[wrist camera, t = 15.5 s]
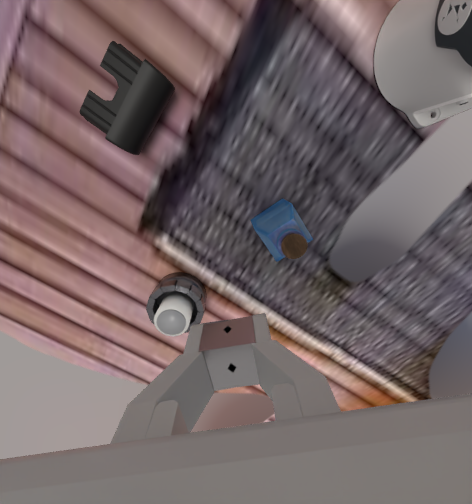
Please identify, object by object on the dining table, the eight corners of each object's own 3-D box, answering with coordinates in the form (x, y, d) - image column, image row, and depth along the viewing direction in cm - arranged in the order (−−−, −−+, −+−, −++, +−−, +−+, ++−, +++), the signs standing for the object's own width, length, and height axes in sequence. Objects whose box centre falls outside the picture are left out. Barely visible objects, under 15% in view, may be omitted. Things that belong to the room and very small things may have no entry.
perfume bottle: (250, 219, 39) (258, 240, 28) (282, 198, 38) (304, 210, 27) (270, 248, 41) (285, 279, 30) (301, 228, 40) (329, 252, 29)
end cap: (146, 157, 36) (127, 154, 29) (102, 126, 34) (73, 116, 28) (180, 95, 33) (168, 77, 27) (135, 58, 32) (111, 31, 25)
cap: (189, 287, 40) (183, 304, 35) (197, 314, 42) (192, 334, 37) (158, 293, 40) (148, 310, 35) (167, 319, 42) (159, 339, 37)
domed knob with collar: (199, 268, 42) (195, 281, 37) (210, 311, 45) (208, 328, 40) (149, 277, 42) (139, 291, 37) (164, 319, 45) (156, 337, 41)
